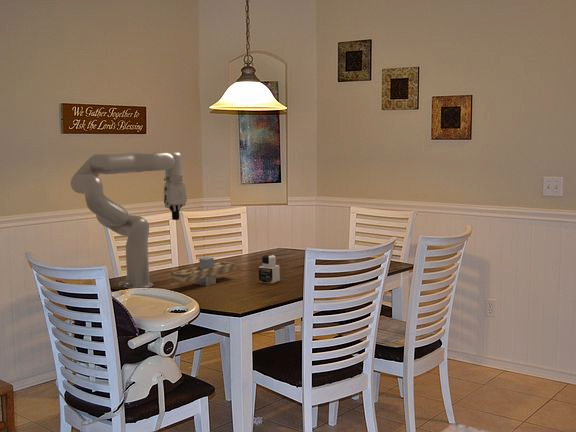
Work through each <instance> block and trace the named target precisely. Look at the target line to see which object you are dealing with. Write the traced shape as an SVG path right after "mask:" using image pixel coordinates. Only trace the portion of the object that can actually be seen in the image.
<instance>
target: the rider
mask: <svg viewBox="0 0 576 432" xmlns="http://www.w3.org/2000/svg"><path fill="white" fill-rule="evenodd" d="M198 261H199V265H198V266H200V270H205V269H207V268H214V263H215V260H214V257H209V256H208V257H207V256H205V257H202V258H199V259H198Z"/></svg>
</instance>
